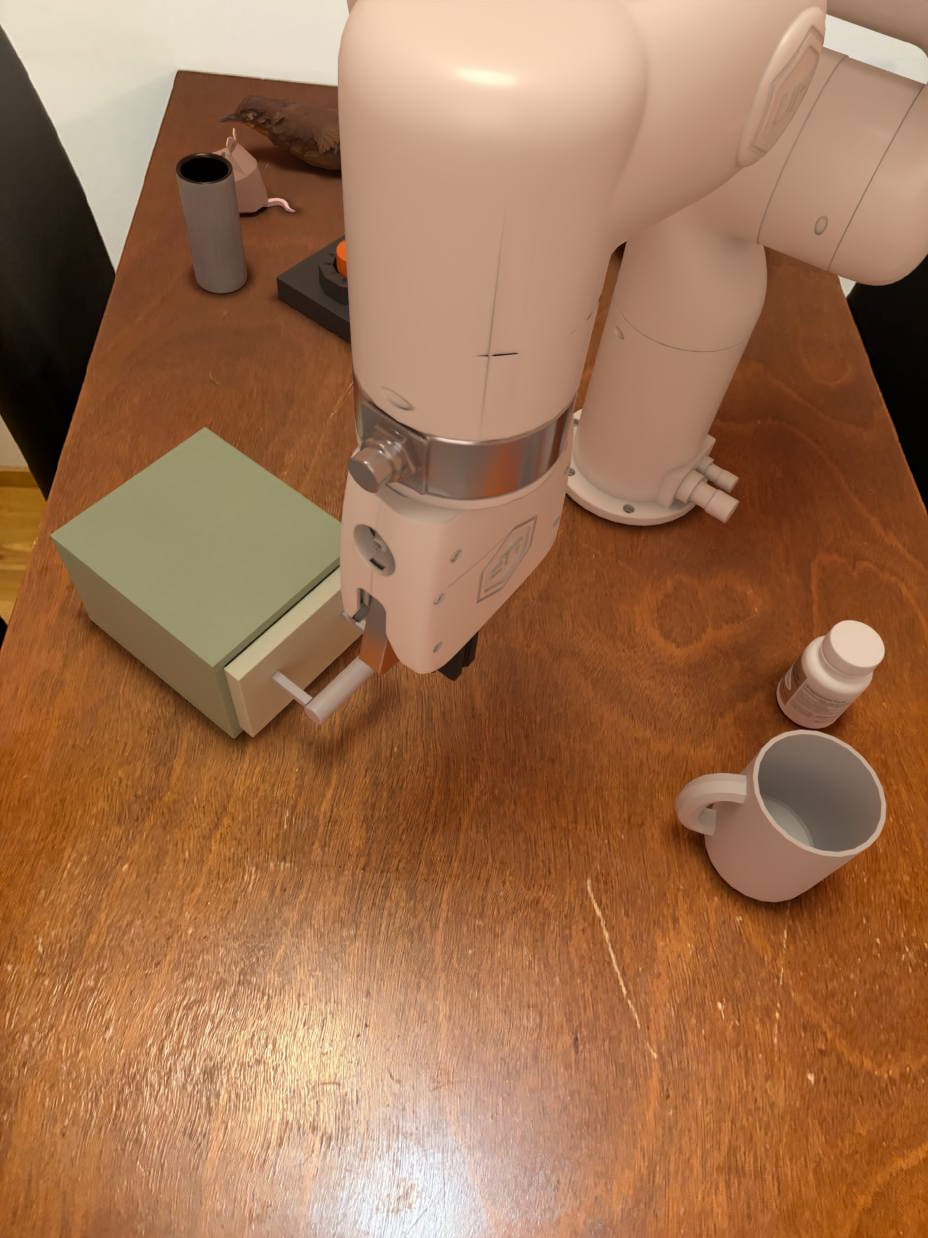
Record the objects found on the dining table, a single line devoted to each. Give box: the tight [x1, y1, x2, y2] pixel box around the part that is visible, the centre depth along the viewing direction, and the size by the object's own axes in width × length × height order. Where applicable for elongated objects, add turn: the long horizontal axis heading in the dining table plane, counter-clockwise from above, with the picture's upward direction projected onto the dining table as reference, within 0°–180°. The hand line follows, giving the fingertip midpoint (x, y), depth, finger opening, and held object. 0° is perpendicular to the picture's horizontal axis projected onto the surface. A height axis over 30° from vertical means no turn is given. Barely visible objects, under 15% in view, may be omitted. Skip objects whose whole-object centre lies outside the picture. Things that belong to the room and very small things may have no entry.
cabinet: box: [49, 426, 342, 740], centre depth 57 cm, size 14×12×9 cm
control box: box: [275, 234, 351, 344], centre depth 78 cm, size 11×9×4 cm
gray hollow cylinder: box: [174, 152, 248, 294], centre depth 76 cm, size 4×4×10 cm
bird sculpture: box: [216, 94, 342, 171], centre depth 90 cm, size 7×25×5 cm, turn 92°
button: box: [336, 240, 347, 278], centre depth 76 cm, size 4×4×2 cm
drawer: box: [224, 567, 376, 738], centre depth 56 cm, size 17×11×7 cm, turn 52°
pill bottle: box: [776, 619, 886, 729], centre depth 58 cm, size 4×4×8 cm
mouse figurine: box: [212, 127, 296, 215], centre depth 84 cm, size 5×8×7 cm, turn 80°
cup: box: [674, 729, 887, 903], centre depth 51 cm, size 7×10×9 cm
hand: (440, 654), depth 46 cm, fingers closed
